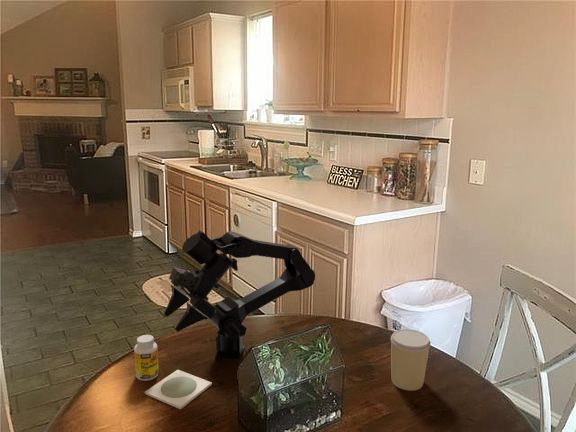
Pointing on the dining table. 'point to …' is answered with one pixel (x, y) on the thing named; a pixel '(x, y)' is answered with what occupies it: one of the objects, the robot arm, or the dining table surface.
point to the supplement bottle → (146, 358)
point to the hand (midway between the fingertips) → (170, 322)
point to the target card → (178, 389)
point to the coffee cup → (409, 358)
